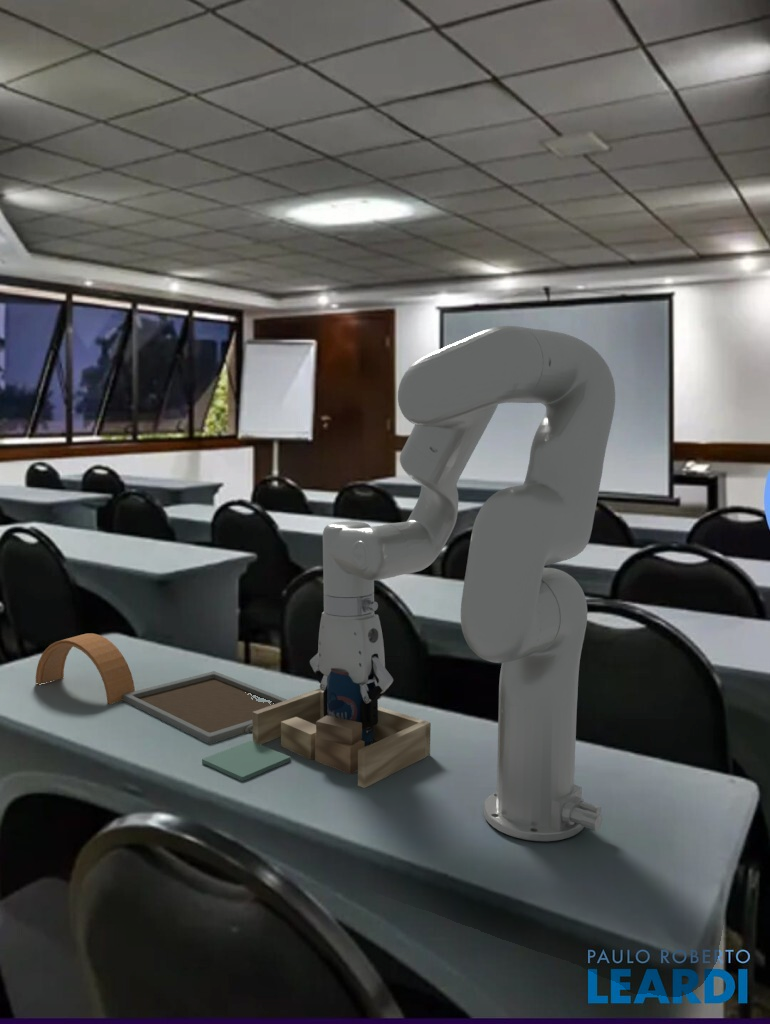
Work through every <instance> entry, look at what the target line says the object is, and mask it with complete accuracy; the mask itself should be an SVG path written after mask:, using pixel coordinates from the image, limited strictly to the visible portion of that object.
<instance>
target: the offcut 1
mask: <svg viewBox="0 0 770 1024" xmlns="http://www.w3.org/2000/svg"><path fill="white" fill-rule="evenodd" d="M315 735H316V723H315V724H313V723H310V722H308V721H306V720H303V719H301V718H298V717H294V718H291V719H288V720H285V721H281V737H280V747H283V748H284V749H287V750H289V751H291V752H293V753H295V754H298V755H299V756H302V757H303V758H305V759H308V760H315Z"/></svg>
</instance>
